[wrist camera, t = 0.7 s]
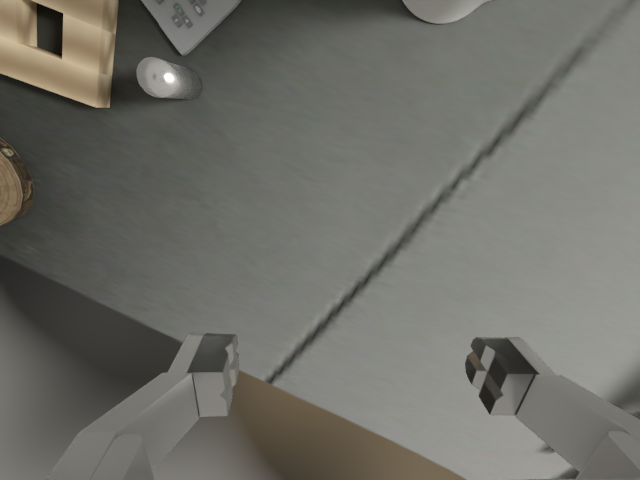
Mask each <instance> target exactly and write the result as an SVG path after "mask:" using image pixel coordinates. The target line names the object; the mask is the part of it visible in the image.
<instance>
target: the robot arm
mask: <svg viewBox="0 0 640 480" xmlns="http://www.w3.org/2000/svg"><path fill="white" fill-rule="evenodd" d="M402 1H403V3H404V4H405V5H406V7H407V8H408V9H409V10H410V11H411V12H412V13H413V14H414V15H415V16H417V17H418V18H420V19H422V20H424V21H427V22H430V23H436V24H444V23H450V22H454V21H457V20H459V19H461V18H463V17H465V16H467V15H468V14H470V13H471V12H472V11H474V10H475V9H476V8H477V7H479V6H480V5H481V4H483V3H485V2H488V1H492V0H402ZM237 345H238V339H237V335H236V334H210V333H206V334H201V333H190V334H189V335H188V336H187V337H186V339H185V340H184V342H183V344H182V346H181V348H180V350H179V352H178V354H177V356H176V358H175V359H174V361H173V363H172V365H171V367H170V369H169V371H168V373H162V374H160V375H159V376H158V377H156V378H155V379H153V380H152V381H151V382H149V383H148V384H146V385H145V386H144V387H142V388H141V389H139V390H138V391H137V392H135V393H134V394H132V395H131V396H130V397H128V398H127V399H125V400H124V401H123V402H121V403H120V404H118V405H117V406H116V407H114V408H113V409H111V410H110V411H108V412H107V413H106V414H104V415H103V416H101V417H100V418H99V419H97V420H96V421H94V422H93V423H92V424H91V425H89V426H87V427H86V428H85V429H83V430H82V431H80V432H79V433H78V435H77V436H76V437H75V439H74V440H73V442H72V443H71V444H70V446H69V447H68V449H67V450H66V452H65V453H64V454H63V456H62V457H61V459H60V460H59V462H58V463H57V464H56V466H55V467H54V469H53V470H52V472H51V473H50V474H49V476H48V477H47V478H46V480H154V476H153V473H152V470H153V469H154V468H155V467H156V466H157V465H158V464H159V463H160V461H161V460H162V459H163V458H164V457H165V456H166V455H167V454H168V453H169V451H170V450H171V449H172V448H173V447H174V446H175V445H176V443H177V442H178V441H179V440H180V439H181V438H182V437H183V436H184V435H185V434H186V432H187V431H188V430H189V429H190V428H191V427H192V426H193V425H194V423H195V422H196V421H197V420H198V419H199V417H205V416H227V415H228V412H229V408H230V404H231V400H232V397H233V394H232V387H233V386H234V385H235V384H236V381H237V376H238V370H239V354H238V353H237V352H236V349H237ZM471 348H472V350H473V352H471V353H470V354H469V355H468V356H467V359H466V362H465V368H466V374H467V377H468V379H469V381H470V382H471V384H472V385H473V386H474V387H476V388H477V389H478V390H480V392H479V398H480V399H481V401H482V403H483V404H484V406H485V408H486V409H487V411H488V413H489V414H490V415H508V416H516V418H517V419H518V420H520V421H521V422H522V423H523V424H524V425H525V426H527V427H528V428H529V429H530V430H531V431H532V432H533V433H535V434H536V435H537V436H538V437H539V438H540V439H542V440H543V441H544V442H545V443H546V444H547V445H549V446H550V447H551V448H552V449H553V450H554V451H556V452H557V453H558V454H559V455H560V456H561V457H563V458H564V459H565V460H566V461H567V462H568V463H569V464H571V465H572V466H573V467H574V468H575V469H576V470H578V471H579V472H580V473H579V474H578V476H577V477H576V479H529V480H640V419H638V418H636V417H635V416H633V415H631V414H629V413H627V412H626V411H624V410H622V409H620V408H619V407H617V406H615V405H613V404H611V403H610V402H608V401H606V400H604V399H603V398H601V397H599V396H597V395H595V394H594V393H592V392H590V391H588V390H587V389H585V388H583V387H581V386H579V385H578V384H576V383H574V382H572V381H571V380H569V379H567V378H565V377H563V376H562V375H556V374H555V373H554V372H553V371H552V370H551V369H550V368H549V367H548V366H547V365H546V363H545V362H544V361H543V360H542V359H541V358H540V357H539V356H538V355H537V354H536V353H535V352H534V351H533V350H532V349H531V347H530V346H529V345H528V344H527V343H526V342H525V341H524V340H523V339H521V338H519V337H504V338H490V337H476V338H475V339H474V340H473V341H472V344H471Z"/></svg>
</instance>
